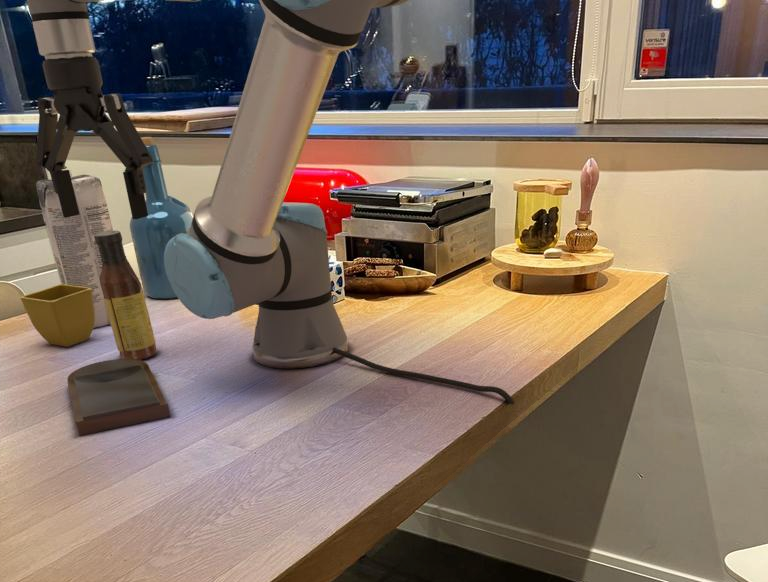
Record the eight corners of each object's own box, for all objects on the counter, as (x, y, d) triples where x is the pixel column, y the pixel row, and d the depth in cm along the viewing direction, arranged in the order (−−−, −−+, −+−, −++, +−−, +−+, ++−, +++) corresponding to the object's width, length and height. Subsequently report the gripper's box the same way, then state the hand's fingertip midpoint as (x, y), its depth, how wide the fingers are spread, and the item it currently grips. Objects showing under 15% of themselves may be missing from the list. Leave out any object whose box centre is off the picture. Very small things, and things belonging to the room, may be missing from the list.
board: (170, 416, 107) (166, 399, 106) (79, 435, 103) (74, 418, 102) (145, 365, 126) (142, 350, 125) (68, 380, 122) (64, 364, 121)
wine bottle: (174, 303, 159) (142, 141, 144) (131, 297, 166) (95, 141, 150) (221, 286, 169) (195, 133, 153) (178, 281, 175) (149, 134, 160)
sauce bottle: (165, 351, 132) (139, 228, 122) (141, 363, 127) (112, 237, 117) (135, 348, 134) (107, 228, 124) (110, 360, 130) (79, 236, 120)
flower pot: (65, 352, 135) (50, 300, 130) (33, 346, 139) (18, 296, 134) (105, 337, 141) (92, 287, 136) (73, 332, 145) (60, 283, 141)
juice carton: (136, 320, 150) (102, 168, 136) (81, 332, 145) (40, 176, 131) (121, 311, 156) (87, 165, 142) (69, 322, 151) (28, 172, 138)
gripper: (157, 50, 107) (186, 213, 118) (23, 61, 117) (61, 211, 127) (121, 52, 101) (155, 223, 112) (-17, 63, 111) (26, 219, 121)
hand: (105, 217), depth 120 cm, fingers open, 13 cm apart
